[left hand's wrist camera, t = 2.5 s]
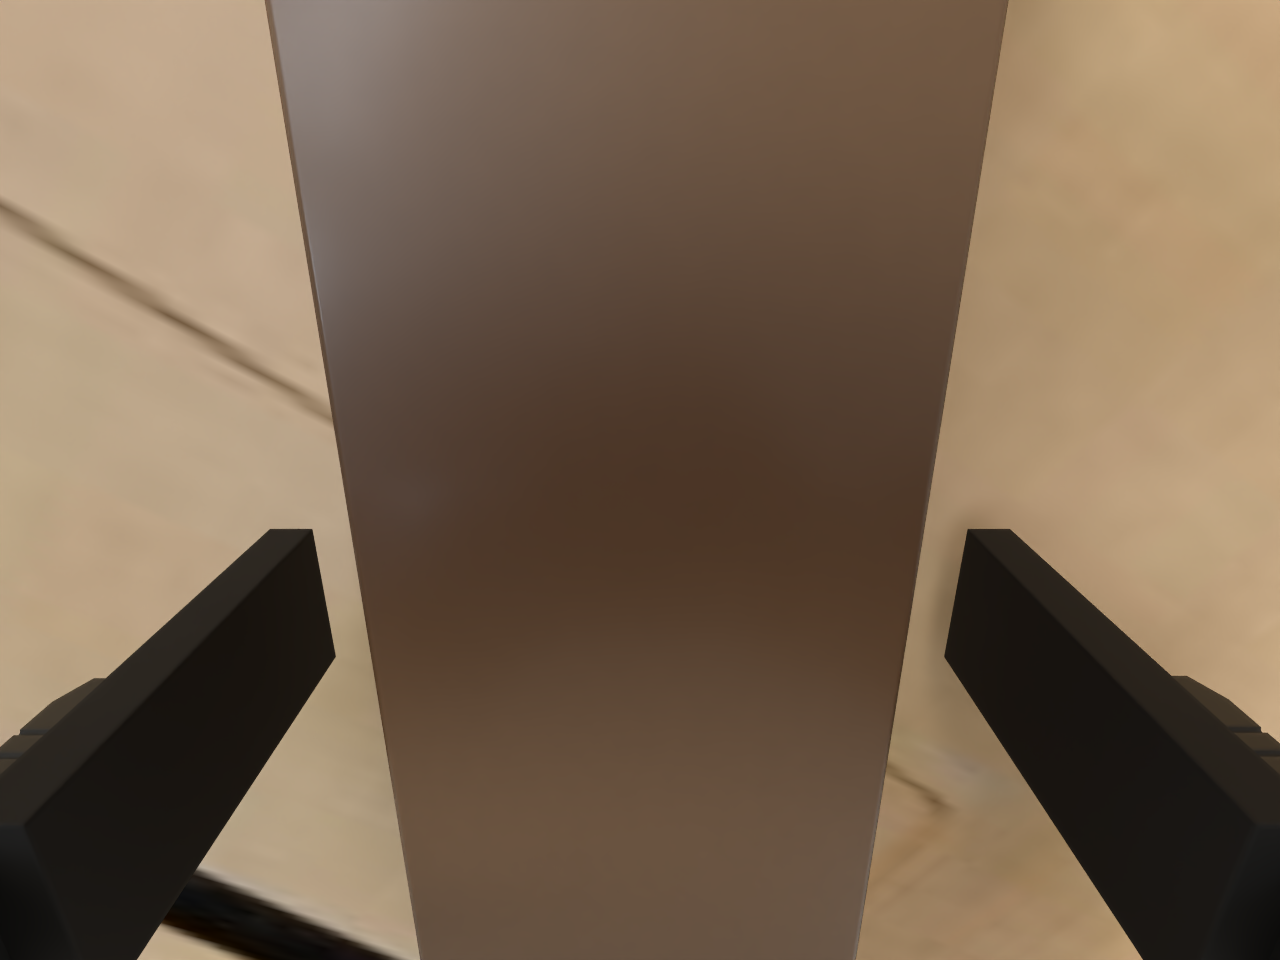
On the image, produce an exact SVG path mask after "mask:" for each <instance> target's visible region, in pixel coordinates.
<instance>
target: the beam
mask: <svg viewBox="0 0 1280 960" xmlns="http://www.w3.org/2000/svg"><path fill="white" fill-rule="evenodd" d="M265 4H266V11H267V17H268V23H269V29H270V35H271V41H272V48H273V54H274V60H275V66H276V72H277V78H278V85H279V91H280V97H281V103H282V109H283V115H284V122H285V128H286V134H287V140H288V146H289V152H290V158H291V165H292V171H293V177H294V183H295V189H296V195H297V202H298V208H299V214H300V220H301V226H302V232H303V239H304V245H305V251H306V257H307V263H308V269H309V276H310V282H311V288H312V294H313V300H314V306H315V313H316V319H317V325H318V331H319V337H320V343H321V350H322V356H323V362H324V368H325V374H326V380H327V387H328V393H329V399H330V405H331V411H332V417H333V423H334V430H335V436H336V442H337V448H338V454H339V460H340V467H341V473H342V479H343V485H344V491H345V497H346V504H347V510H348V516H349V522H350V528H351V534H352V541H353V547H354V553H355V559H356V565H357V571H358V578H359V584H360V590H361V596H362V602H363V608H364V615H365V621H366V627H367V633H368V639H369V645H370V652H371V658H372V664H373V670H374V676H375V682H376V688H377V695H378V701H379V707H380V713H381V719H382V725H383V732H384V738H385V744H386V750H387V756H388V762H389V769H390V775H391V781H392V787H393V793H394V799H395V806H396V812H397V818H398V824H399V830H400V836H401V843H402V849H403V855H404V861H405V867H406V873H407V880H408V886H409V892H410V898H411V904H412V910H413V917H414V923H415V929H416V935H417V941H418V947H419V953H420V960H856V954H857V947H858V941H859V935H860V929H861V922H862V916H863V910H864V904H865V897H866V891H867V885H868V878H869V872H870V866H871V860H872V853H873V847H874V841H875V834H876V828H877V822H878V816H879V809H880V803H881V797H882V790H883V784H884V778H885V772H886V765H887V759H888V753H889V747H890V740H891V734H892V728H893V721H894V715H895V709H896V703H897V696H898V690H899V684H900V677H901V671H902V665H903V659H904V652H905V646H906V640H907V633H908V627H909V621H910V615H911V608H912V602H913V596H914V590H915V583H916V577H917V571H918V564H919V558H920V552H921V546H922V539H923V533H924V527H925V520H926V514H927V508H928V502H929V495H930V489H931V483H932V477H933V470H934V464H935V458H936V451H937V445H938V439H939V433H940V426H941V420H942V414H943V407H944V401H945V395H946V389H947V382H948V376H949V370H950V364H951V357H952V351H953V345H954V338H955V332H956V326H957V320H958V313H959V307H960V301H961V294H962V288H963V282H964V276H965V269H966V263H967V257H968V250H969V244H970V238H971V232H972V225H973V219H974V213H975V207H976V200H977V194H978V188H979V181H980V175H981V169H982V163H983V156H984V150H985V144H986V137H987V131H988V125H989V119H990V112H991V106H992V100H993V93H994V87H995V81H996V75H997V68H998V62H999V56H1000V50H1001V43H1002V37H1003V31H1004V24H1005V18H1006V12H1007V6H1008V0H265Z"/></svg>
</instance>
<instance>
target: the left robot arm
mask: <svg viewBox="0 0 1280 960" xmlns="http://www.w3.org/2000/svg"><path fill="white" fill-rule="evenodd" d="M335 657H336V655H335V650H334V645H333V639H332V634H331V628H330V623H329V617H328V612H327V606H326V601H325V596H324V590H323V585H322V579H321V574H320V568H319V563H318V557H317V552H316V547H315V541H314V536H313V530H312V529H270V530H269V531H268V532H266V533H265V534H264V535H263V536H262V537H261V538H260V539H259V540H258V541H257V542H255V543H254V544H253V545H252V546H251V547H250V548H249V549H248V550H247V551H245V552H244V553H243V554H242V555H241V556H240V557H239V558H238V559H237V560H236V561H234V562H233V563H232V564H231V565H230V566H229V567H228V568H227V569H226V570H225V571H223V572H222V573H221V574H220V575H219V576H218V577H217V578H216V579H215V580H214V581H212V582H211V583H210V584H209V585H208V586H207V587H206V588H205V589H204V590H203V591H201V592H200V593H199V594H198V595H197V596H196V597H195V598H194V599H193V600H192V601H190V602H189V603H188V604H187V605H186V606H185V607H184V608H183V609H182V610H181V611H179V612H178V613H177V614H176V615H175V616H174V617H173V618H172V619H171V620H170V621H168V622H167V623H166V624H165V625H164V626H163V627H162V628H161V629H160V630H159V631H157V632H156V633H155V634H154V635H153V636H152V637H151V638H150V639H149V640H148V641H146V642H145V643H144V644H143V645H142V646H141V647H140V648H139V649H138V650H137V651H135V652H134V653H133V654H132V655H131V656H130V657H129V658H128V659H127V660H126V661H124V662H123V663H122V664H121V665H120V666H119V667H118V668H117V669H116V670H115V671H113V672H112V673H111V674H110V675H109V676H108V677H107V678H94V679H92V680H90V681H89V682H87V683H85V684H83V685H81V686H80V687H78V688H76V689H74V690H73V691H71V692H69V693H67V694H66V695H64V696H62V697H60V698H58V699H57V700H55V701H53V702H52V703H51V704H49V705H48V706H47V707H46V708H45V709H44V710H42V711H41V712H40V713H39V714H38V715H37V716H36V717H34V718H33V719H32V720H31V721H30V722H29V723H27V724H26V725H25V726H24V727H23V728H22V729H20V734H19V735H14V736H12V737H11V738H10V739H9V740H8V741H7V742H5V743H4V744H3V745H2V746H1V747H0V960H137V959H138V957H139V956H140V954H141V953H142V951H143V950H144V948H145V947H146V945H147V943H148V942H149V940H150V939H151V937H152V936H153V934H154V933H155V931H156V930H157V928H158V927H159V925H160V924H161V922H162V921H163V919H164V918H165V916H166V915H167V913H168V911H169V910H170V908H171V907H172V905H173V904H174V902H175V901H176V899H177V898H178V896H179V895H180V893H181V892H182V890H183V889H184V887H185V886H186V884H187V883H188V881H189V879H190V878H191V876H192V875H193V873H194V872H195V870H196V869H197V867H198V866H199V864H200V863H201V861H202V860H203V858H204V857H205V855H206V854H207V852H208V851H209V849H210V847H211V846H212V844H213V843H214V841H215V840H216V838H217V837H218V835H219V834H220V832H221V831H222V829H223V828H224V826H225V825H226V823H227V822H228V820H229V819H230V817H231V815H232V814H233V812H234V811H235V809H236V808H237V806H238V805H239V803H240V802H241V800H242V799H243V797H244V796H245V794H246V793H247V791H248V790H249V788H250V787H251V785H252V783H253V782H254V780H255V779H256V777H257V776H258V774H259V773H260V771H261V770H262V768H263V767H264V765H265V764H266V762H267V761H268V759H269V758H270V756H271V755H272V753H273V751H274V750H275V748H276V747H277V745H278V744H279V742H280V741H281V739H282V738H283V736H284V735H285V733H286V732H287V730H288V729H289V727H290V726H291V724H292V723H293V721H294V719H295V718H296V716H297V715H298V713H299V712H300V710H301V709H302V707H303V706H304V704H305V703H306V701H307V700H308V698H309V697H310V695H311V694H312V692H313V691H314V689H315V687H316V686H317V684H318V683H319V681H320V680H321V678H322V677H323V675H324V674H325V672H326V671H327V669H328V668H329V666H330V665H331V663H332V662H333V660H334V659H335ZM944 657H945V659H946V660H947V662H948V663H949V665H950V666H951V668H952V669H953V671H954V672H955V674H956V675H957V677H958V678H959V680H960V681H961V683H962V684H963V686H964V687H965V689H966V691H967V692H968V694H969V695H970V697H971V698H972V700H973V701H974V703H975V704H976V706H977V707H978V709H979V710H980V712H981V713H982V715H983V716H984V718H985V719H986V721H987V723H988V724H989V726H990V727H991V729H992V730H993V732H994V733H995V735H996V736H997V738H998V739H999V741H1000V742H1001V744H1002V745H1003V747H1004V748H1005V750H1006V752H1007V753H1008V755H1009V756H1010V758H1011V759H1012V761H1013V762H1014V764H1015V765H1016V767H1017V768H1018V770H1019V771H1020V773H1021V774H1022V776H1023V777H1024V779H1025V780H1026V782H1027V784H1028V785H1029V787H1030V788H1031V790H1032V791H1033V793H1034V794H1035V796H1036V797H1037V799H1038V800H1039V802H1040V803H1041V805H1042V806H1043V808H1044V809H1045V811H1046V812H1047V814H1048V816H1049V817H1050V819H1051V820H1052V822H1053V823H1054V825H1055V826H1056V828H1057V829H1058V831H1059V832H1060V834H1061V835H1062V837H1063V838H1064V840H1065V841H1066V843H1067V844H1068V846H1069V848H1070V849H1071V851H1072V852H1073V854H1074V855H1075V857H1076V858H1077V860H1078V861H1079V863H1080V864H1081V866H1082V867H1083V869H1084V870H1085V872H1086V873H1087V875H1088V876H1089V878H1090V880H1091V881H1092V883H1093V884H1094V886H1095V887H1096V889H1097V890H1098V892H1099V893H1100V895H1101V896H1102V898H1103V899H1104V901H1105V902H1106V904H1107V905H1108V907H1109V908H1110V910H1111V912H1112V913H1113V915H1114V916H1115V918H1116V919H1117V921H1118V922H1119V924H1120V925H1121V927H1122V928H1123V930H1124V931H1125V933H1126V934H1127V936H1128V937H1129V939H1130V940H1131V942H1132V944H1133V945H1134V947H1135V948H1136V950H1137V951H1138V953H1139V954H1140V956H1141V957H1142V959H1143V960H1280V743H1279V742H1277V741H1276V740H1275V739H1274V738H1273V737H1272V736H1270V735H1269V734H1268V733H1262V732H1261V727H1260V726H1259V725H1258V724H1257V723H1255V722H1254V721H1253V720H1252V719H1251V718H1250V717H1248V716H1247V715H1246V714H1245V713H1244V712H1243V711H1241V710H1240V709H1239V708H1238V707H1237V706H1236V705H1234V704H1233V703H1232V702H1231V701H1230V700H1229V699H1227V698H1225V697H1223V696H1221V695H1220V694H1218V693H1216V692H1214V691H1213V690H1211V689H1209V688H1207V687H1205V686H1204V685H1202V684H1200V683H1198V682H1197V681H1195V680H1193V679H1191V678H1189V677H1188V676H1171V675H1170V674H1169V673H1168V672H1167V671H1165V670H1164V669H1163V668H1162V667H1161V666H1160V665H1159V664H1158V663H1157V662H1156V661H1154V660H1153V659H1152V658H1151V657H1150V656H1149V655H1148V654H1147V653H1146V652H1145V651H1143V650H1142V649H1141V648H1140V647H1139V646H1138V645H1137V644H1136V643H1135V642H1134V641H1132V640H1131V639H1130V638H1129V637H1128V636H1127V635H1126V634H1125V633H1124V632H1123V631H1121V630H1120V629H1119V628H1118V627H1117V626H1116V625H1115V624H1114V623H1113V622H1112V621H1110V620H1109V619H1108V618H1107V617H1106V616H1105V615H1104V614H1103V613H1102V612H1100V611H1099V610H1098V609H1097V608H1096V607H1095V606H1094V605H1093V604H1092V603H1091V602H1089V601H1088V600H1087V599H1086V598H1085V597H1084V596H1083V595H1082V594H1081V593H1080V592H1078V591H1077V590H1076V589H1075V588H1074V587H1073V586H1072V585H1071V584H1070V583H1069V582H1067V581H1066V580H1065V579H1064V578H1063V577H1062V576H1061V575H1060V574H1059V573H1058V572H1056V571H1055V570H1054V569H1053V568H1052V567H1051V566H1050V565H1049V564H1048V563H1047V562H1045V561H1044V560H1043V559H1042V558H1041V557H1040V556H1039V555H1038V554H1037V553H1036V552H1034V551H1033V550H1032V549H1031V548H1030V547H1029V546H1028V545H1027V544H1026V543H1025V542H1023V541H1022V540H1021V539H1020V538H1019V537H1018V536H1017V535H1016V534H1015V533H1014V532H1012V531H1011V530H1010V529H968V530H967V536H966V541H965V546H964V552H963V557H962V563H961V568H960V574H959V579H958V585H957V590H956V595H955V601H954V606H953V612H952V617H951V623H950V628H949V634H948V639H947V644H946V650H945V655H944Z"/></svg>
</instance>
